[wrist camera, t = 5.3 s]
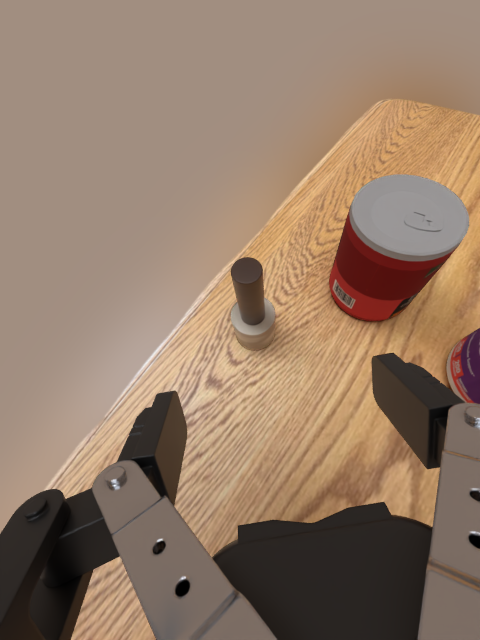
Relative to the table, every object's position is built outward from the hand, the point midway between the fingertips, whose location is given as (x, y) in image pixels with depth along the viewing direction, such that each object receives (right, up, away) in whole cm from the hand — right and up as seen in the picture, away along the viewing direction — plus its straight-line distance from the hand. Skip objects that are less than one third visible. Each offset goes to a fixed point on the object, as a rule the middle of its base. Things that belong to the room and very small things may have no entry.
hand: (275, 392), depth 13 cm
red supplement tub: (+12, +6, +19) cm, 23 cm away
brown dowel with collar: (0, +2, +19) cm, 19 cm away
